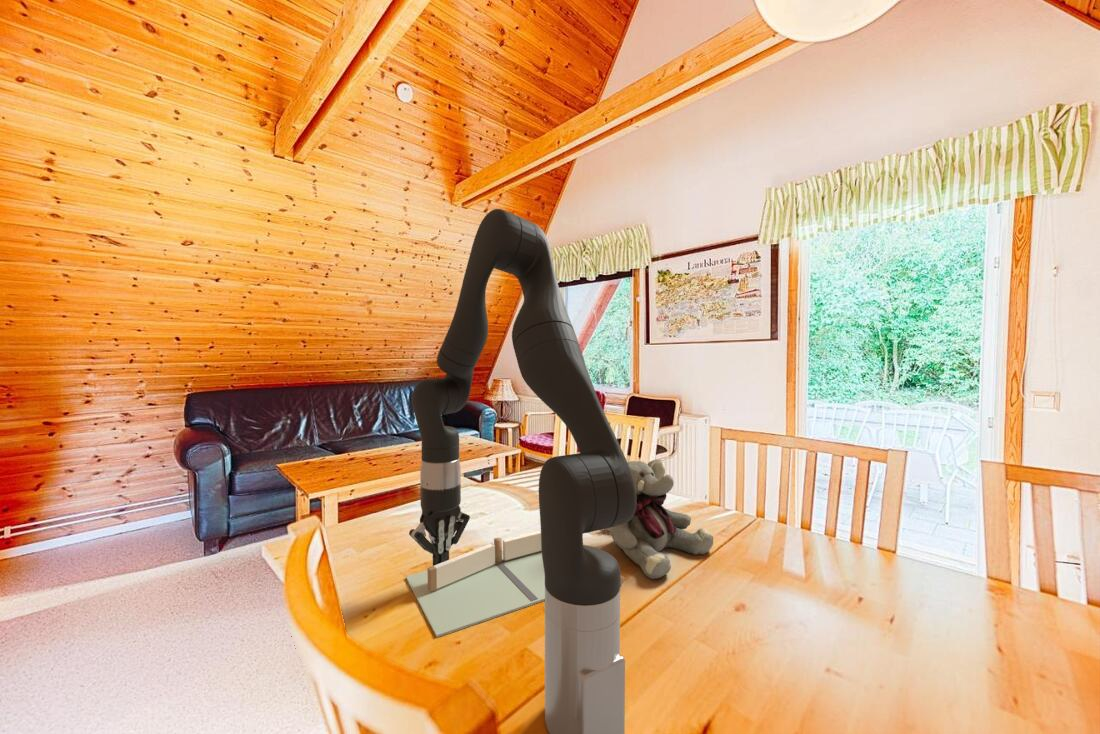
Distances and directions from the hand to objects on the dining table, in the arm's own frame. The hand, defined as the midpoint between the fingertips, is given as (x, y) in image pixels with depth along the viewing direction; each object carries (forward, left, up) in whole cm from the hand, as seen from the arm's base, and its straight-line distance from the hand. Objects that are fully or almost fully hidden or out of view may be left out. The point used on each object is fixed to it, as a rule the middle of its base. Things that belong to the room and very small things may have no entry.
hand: (441, 568), depth 86 cm
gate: (-1, -4, -2) cm, 5 cm away
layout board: (-5, -11, -3) cm, 12 cm away
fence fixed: (+1, -20, -3) cm, 20 cm away
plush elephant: (-8, -45, -3) cm, 46 cm away
